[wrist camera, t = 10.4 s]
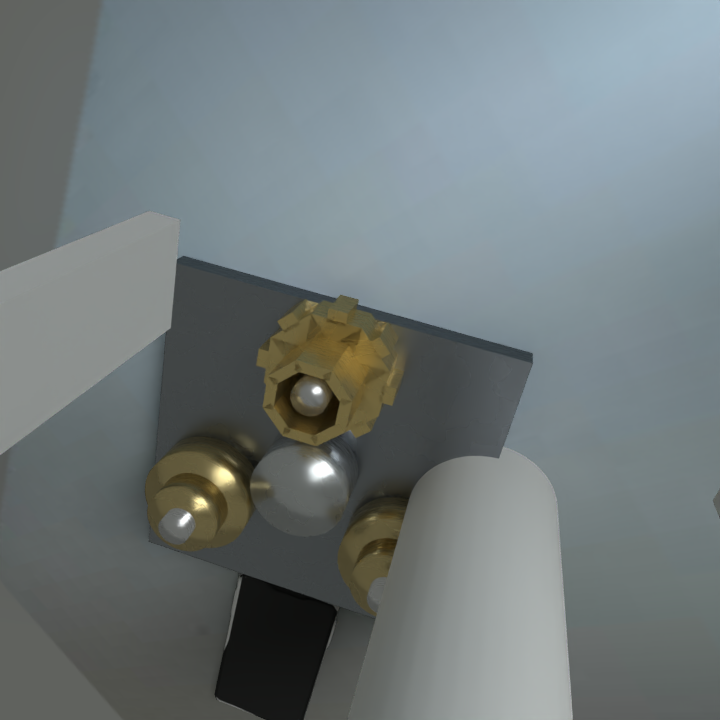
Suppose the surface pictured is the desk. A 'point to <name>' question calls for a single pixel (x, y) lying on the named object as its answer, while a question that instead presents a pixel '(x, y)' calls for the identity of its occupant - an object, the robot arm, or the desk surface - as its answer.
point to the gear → (330, 368)
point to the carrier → (301, 460)
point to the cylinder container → (472, 601)
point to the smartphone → (273, 649)
